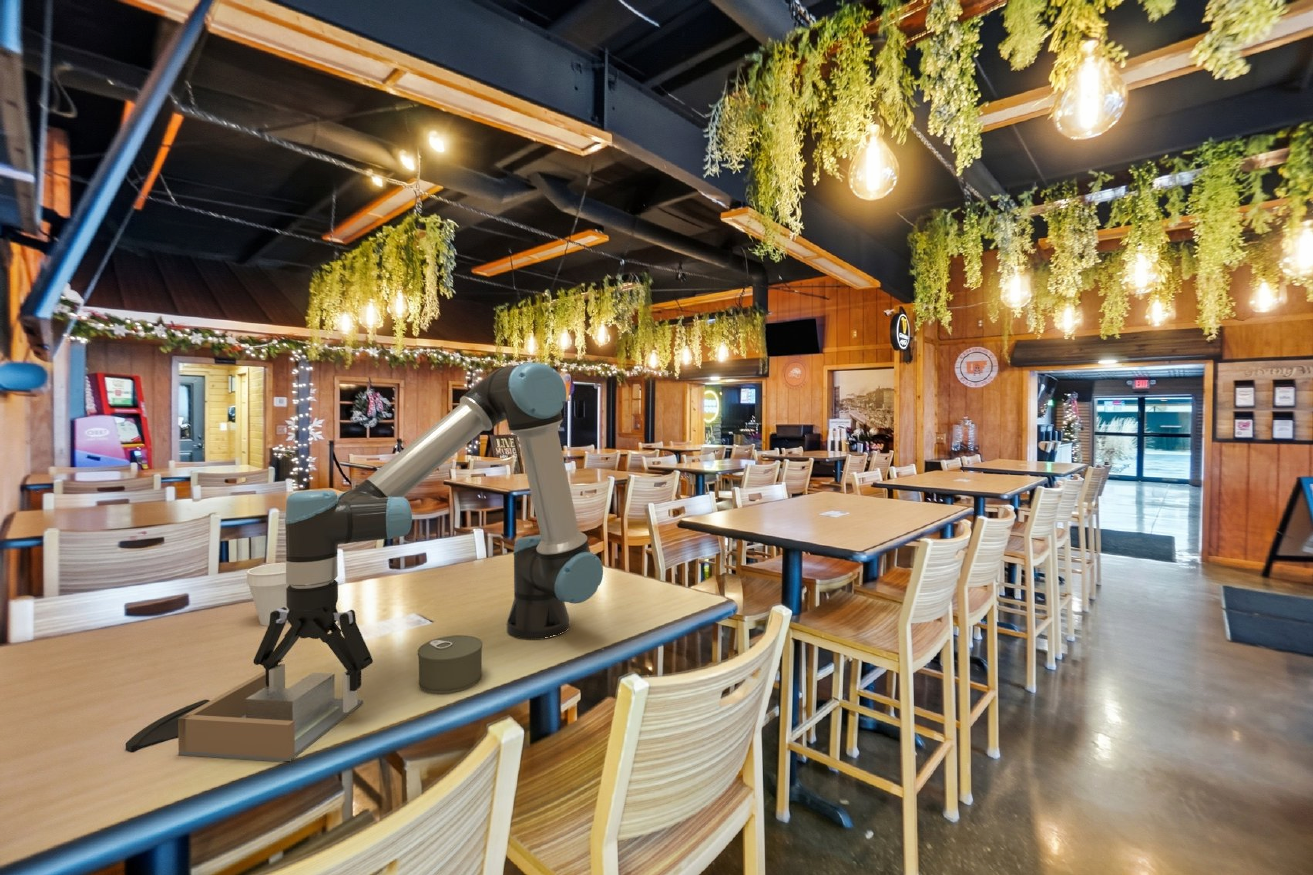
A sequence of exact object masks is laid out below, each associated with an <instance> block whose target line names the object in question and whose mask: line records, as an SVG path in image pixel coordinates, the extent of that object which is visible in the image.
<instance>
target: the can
mask: <svg viewBox="0 0 1313 875" xmlns="http://www.w3.org/2000/svg"><path fill="white" fill-rule="evenodd" d="M483 644H484V643H483V640H481V639H480V638H478V637H476V636H473V635H464V634H463V635H449V636H443V637H438V638H435V639H431V640H429V641H427V642H424V643H422V645H420V646H419V647H418V649H417V657H418V687H419V690H420V691H422V692H423V693H427V694H431V695H437V696H438V695H442V696H443V695H450V694H457V693H460V692H463V691H467V690H469V689H472V688H473V687H475V686H477V685H478V684H479V682H481V681H482V675H483V673H482V668H483V667H482V666H483V665H482V661H483V660H482V653H483V652H482V650H483V649H482V648H483Z"/></svg>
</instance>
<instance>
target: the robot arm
mask: <svg viewBox="0 0 1313 875" xmlns="http://www.w3.org/2000/svg"><path fill="white" fill-rule="evenodd" d="M566 388H567V386H566V384H565V381H564V379H563V378H562V376H561V374H560V373H559V372H558V371H557V370H556V369H554V368H553V367H552V366H550V365H548V364H546V363H541V362H524V363H521V364H517V365H510V366H509V365H508V366H503V367H499V368H498V369H495V370H494V371H492V372H490V373H489V374H488V375H487V376H485V377H484V378H483V379H482V380H480V381H479V382H478V383H477V384H476V385H475V386H473V387H472V388H471V389H470V390H469V391H468V392H466V393H465V394H463V396H461V397H460V398H459V404H458V405H457V406H456V407H454V409H452V410H451V411H450V412H449V413H447V414H446V415H445V416H444V417H442V418H441V419H440V420H439V421H437V422H436V423H435V424H434V425H432V426H431V427H429V429H427V430H426V431H425V432H423V433H422V434H421V435H420V436H418V438H416V439H415V440H414V441H412V442H411V443H410V444H408V445H407V446H406V447H405V448H403V449H402V450H401V451H400V452H398V453H397V454H396V455H395V456H393V457H392V458H390V460H389V461H387V462H386V463H384V464H383V465H382V466H381V467H379V468H378V469H377V470H376V471H375V472H374V473H372V474H370V475H369V476H368V477H367V478H366V479H365V480H364V481H362V482H361V483H359V484H358V485H357V486H355V487H354V488H353V489H349V490H346V491H343V492H341V493H340V494H337V492H336V491H334V490H329V489H328V490H326V489H325V490H322V489H320V490H304V491H297V492H293V493H291V494H289V495H288V497H287V498H286V506H285V509H286V510H285V518H284V525H285V528H284V530H285V557H286V558H285V563H286V583H287V584H289V586H288V587H287V588H286V606H287V608H288V609H289V611H288V610H287V609H286V608H285V607H283V608H280V609H278V610H276V611H273V612H271V613H270V622H269V626H267V629H266V631H265V634H264V636H263V637H262V640H261V642H260V645H259V647H258V649H257V652H256V653H255V656H254V658H253V664H254V665H256V666H259V665H260V666H263V669H265V670H264V671H266V686H267V687H269V688H286V663H282V662H283V661H284V660H283V659H284V658H285V657H286V655H287V654H288V653H289V651H290V650H291V649H292V647H293V646H294V645H295V644H296V642H297V641H298V640H299V639H308V638H310V639H313V640H318V639H320V641H321V642H322V643H324V644H326V645H327V646H328V647H329V649H330V650H331V652H332V653H333V654H334V655H335V657H336V658H337V659H338V661H339V662H340V663H341V664H342V666H343V667H344V669H345V670H346V671H345V672H343V673H342V699H343V712H345V713H348V712H349V711H350V710H351V709H353V708H354V707H355V706H356V705H357V700H358V689H360V688H361V686H362V670H364V669H366V668H367V667H369V666H370V665H371V664H373V662H374V660H373V657H372V655H371V653H370V651H369V648H368V646H367V644H366V642H365V639H364V637H363V635H362V633H361V630H360V628H359V626H358V623H357V618H356V611H355V610H354V609H349V610H348V611H344V612H339V611H338V609H337V603H338V600H339V581H337V580H336V579H337V578H338V575H339V574H338V573H339V572H338V548H339V547H338V546H339V545H347V544H352V543H353V544H355V543H362V542H371V541H380V540H391V539H395V538H400V537H405V536H407V535H408V534H409V533H410V531H411V529H412V523H413V512H412V507H411V504H410V501H409V500H408V499H407V498H406V495H408V494H409V493H410V492H411V491H413V490H414V489H415V488H416V487H418V486H419V485H420V484H422V482H424V480H426V479H427V478H428V477H429V476H430V475H432V474H433V473H435V471H436V470H438V469H439V467H441V466H442V465H444V464H445V463H446V462H447V461H448V460H449V459H450V458H452V457H453V456H454V455H455V454H457V453H458V452H459V451H460V450H461V449H462V448H464V447H465V446H466V445H467V444H468V443H470V442H471V441H472V440H473V439H474V438H475V437H478V435H479V434H480V433H481V432H483V431H486V432H487V431H491V430H492V429H493V428H494V427H496V426H497V425H498V424H500V423H502V422H503V421H506V423H507V425H508V426H507V427H508V430H509V432H510V433H511V434H513V435H514V436H516V437H517V438H518V442H519V448H520V451H521V455H522V460H523V466H524V468H525V473H526V476H527V482H528V486H529V491H530V495H531V500H532V505H533V510H534V512H535V514H534V515H535V518H536V522H537V526H538V530H539V534H536V535H529V536H524V537H519V538H518V539H516V540H515V542H514V545H513V546H514V547H513V553H512V554H513V589H514V590H513V591H514V594H513V595H514V596H513V597H514V598H513V602H512V605H511V608H510V612H509V615H508V617H507V620H506V633H507V634H508V635H509V636H511V637H513V638H517V639H523V640H542V639H541V638H544V639H546V638H545V637H550V636H553V635H557V636H559V635H558V634H560V633H562V632H564V633H565V631H566V630H567V629H568V628H570V615H569V612H568V609H567V606H566V603H569V604H573V605H574V604H580V603H584V602H586V601H588V600H589V599H590V598H592V597H593V596H594V595H595V593H596V592H597V591H598V588H599V586H600V585H601V583H602V582H603V581H602V580H603V575H604V566H603V563H602V560H601V559H600V558H599V556H597V555H596V554H595V553H593V552H591V549H590V543H589V540H588V536H587V535H586V533H584V532H583V531H580V529H579V525H578V520H577V515H576V511H575V506H574V502H573V496H572V493H571V492H572V491H571V487H570V481H569V478H568V474H567V473H568V472H567V469H566V464H565V459H564V455H563V454H564V453H563V448H562V446H561V441H560V440H561V439H560V435H559V431H558V430H559V427H560V425H561V424H562V422H563V421H564V420H563V416H562V410H563V408H564V405H565V404H566V400H567V389H566ZM287 620H288V622H287V623H289V625H290V628H289V629H288V630H287V632H286V633H285V634H284V635H283V636H284V637H283V638H282V639H281V641H280V642H279V644H278V641H279V640H280V637H281V635H282V633H283V630H284V628H285V626H286V624H287V623H286V621H287ZM568 630H569V629H568ZM568 630H567V631H568ZM567 631H566V632H567ZM329 632H330V633H329ZM562 634H563V633H562ZM560 635H561V634H560ZM550 638H551V637H550Z"/></svg>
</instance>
